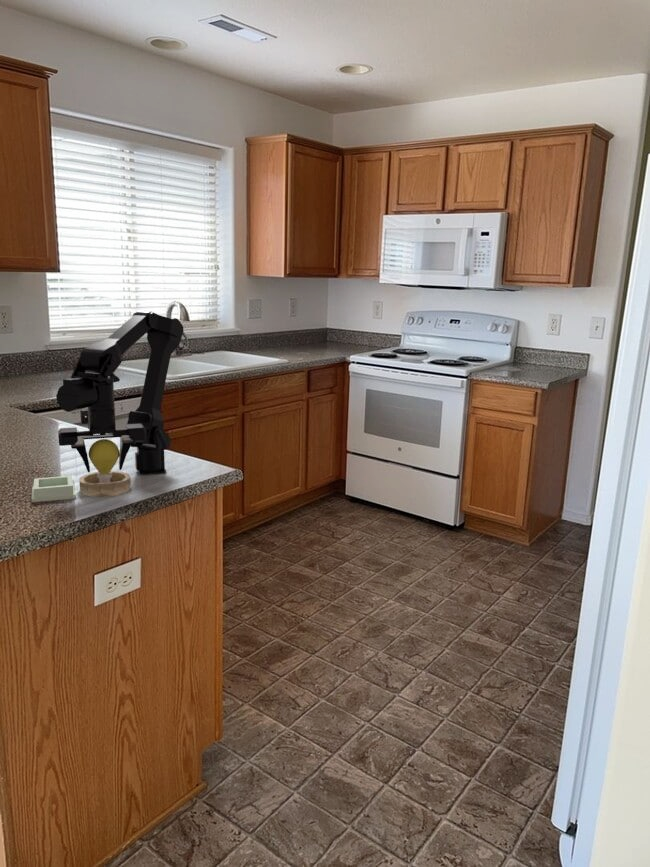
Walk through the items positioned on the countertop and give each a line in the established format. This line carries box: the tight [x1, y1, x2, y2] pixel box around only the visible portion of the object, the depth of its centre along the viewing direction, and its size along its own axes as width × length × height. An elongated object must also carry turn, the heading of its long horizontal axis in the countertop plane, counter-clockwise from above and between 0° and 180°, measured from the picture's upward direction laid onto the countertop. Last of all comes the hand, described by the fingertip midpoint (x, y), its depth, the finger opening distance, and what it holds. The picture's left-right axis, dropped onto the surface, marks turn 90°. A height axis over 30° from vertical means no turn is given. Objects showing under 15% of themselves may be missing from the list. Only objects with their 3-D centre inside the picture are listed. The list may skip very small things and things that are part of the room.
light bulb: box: [88, 438, 120, 483], centre depth 153 cm, size 7×7×10 cm
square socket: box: [31, 475, 77, 503], centre depth 150 cm, size 9×9×3 cm
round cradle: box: [78, 470, 132, 498], centre depth 154 cm, size 11×11×3 cm
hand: (104, 470), depth 153 cm, fingers closed on light bulb, 6 cm apart
